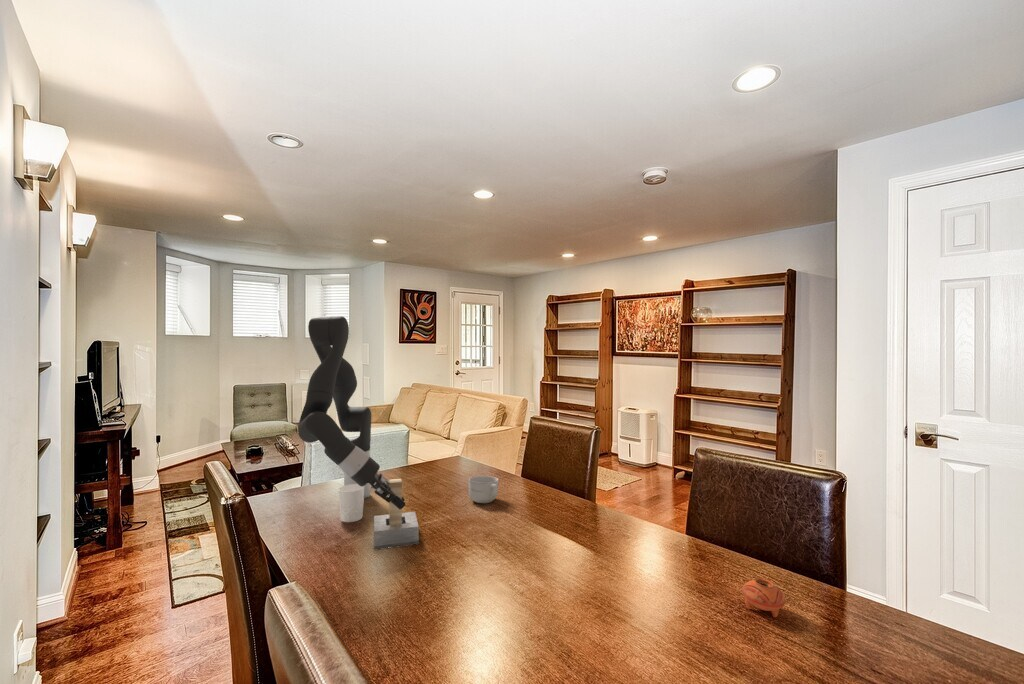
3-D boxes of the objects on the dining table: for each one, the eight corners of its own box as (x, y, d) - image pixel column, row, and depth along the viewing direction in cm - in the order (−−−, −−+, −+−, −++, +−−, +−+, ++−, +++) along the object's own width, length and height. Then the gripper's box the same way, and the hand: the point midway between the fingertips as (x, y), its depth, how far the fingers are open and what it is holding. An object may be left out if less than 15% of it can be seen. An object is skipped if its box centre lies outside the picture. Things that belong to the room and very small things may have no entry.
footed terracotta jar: (742, 593, 101) (750, 565, 100) (782, 614, 96) (791, 585, 95) (734, 608, 94) (742, 578, 94) (775, 631, 90) (785, 601, 89)
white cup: (368, 514, 150) (368, 484, 150) (357, 523, 142) (357, 491, 142) (345, 513, 151) (345, 483, 151) (334, 522, 143) (333, 491, 143)
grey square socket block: (374, 532, 135) (374, 515, 135) (415, 527, 139) (414, 511, 139) (374, 549, 124) (374, 531, 124) (418, 544, 127) (418, 526, 127)
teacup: (464, 498, 166) (464, 476, 166) (491, 494, 170) (491, 472, 170) (477, 510, 153) (477, 487, 153) (507, 505, 157) (507, 482, 158)
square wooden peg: (389, 520, 132) (389, 479, 132) (401, 519, 133) (401, 478, 133) (389, 525, 129) (389, 482, 129) (401, 523, 130) (401, 481, 130)
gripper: (368, 461, 122) (414, 502, 126) (368, 450, 136) (410, 487, 139) (347, 483, 121) (394, 523, 124) (350, 469, 134) (392, 506, 138)
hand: (402, 504), depth 132 cm, fingers closed on square wooden peg, 3 cm apart
